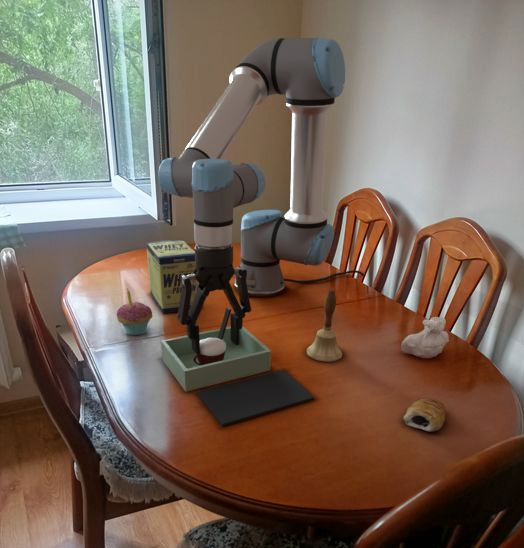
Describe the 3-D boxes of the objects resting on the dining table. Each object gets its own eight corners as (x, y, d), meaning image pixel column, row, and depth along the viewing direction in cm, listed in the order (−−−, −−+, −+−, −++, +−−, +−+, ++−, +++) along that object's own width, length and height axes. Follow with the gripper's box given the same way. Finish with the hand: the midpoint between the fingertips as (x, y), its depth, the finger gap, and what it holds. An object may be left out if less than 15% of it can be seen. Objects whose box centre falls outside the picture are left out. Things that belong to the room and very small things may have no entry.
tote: (240, 342, 119) (240, 324, 116) (270, 370, 108) (271, 351, 105) (162, 359, 110) (160, 340, 108) (185, 391, 99) (184, 371, 97)
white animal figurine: (400, 366, 115) (425, 346, 105) (390, 337, 118) (413, 315, 108) (444, 360, 119) (471, 340, 109) (433, 332, 121) (459, 310, 111)
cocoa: (195, 374, 104) (193, 323, 99) (188, 360, 110) (186, 311, 104) (238, 367, 108) (238, 317, 102) (229, 354, 113) (229, 305, 107)
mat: (283, 371, 107) (283, 369, 107) (313, 399, 98) (314, 397, 98) (197, 393, 98) (197, 391, 98) (222, 426, 89) (222, 424, 89)
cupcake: (144, 340, 118) (140, 293, 112) (112, 336, 119) (106, 289, 114) (158, 325, 125) (155, 281, 120) (127, 321, 127) (122, 277, 121)
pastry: (417, 401, 99) (421, 385, 97) (451, 413, 95) (456, 397, 93) (400, 424, 92) (404, 407, 90) (436, 438, 88) (441, 421, 87)
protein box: (162, 314, 132) (158, 258, 124) (149, 293, 144) (145, 241, 137) (200, 309, 135) (198, 254, 128) (184, 289, 148) (181, 238, 140)
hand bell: (345, 348, 117) (352, 285, 110) (338, 364, 111) (346, 299, 103) (311, 342, 120) (316, 280, 112) (302, 358, 113) (307, 293, 105)
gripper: (253, 233, 103) (251, 330, 114) (154, 245, 94) (162, 349, 105) (270, 243, 98) (266, 344, 109) (167, 256, 89) (174, 365, 99)
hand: (215, 346), depth 107 cm, fingers closed on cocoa, 8 cm apart
